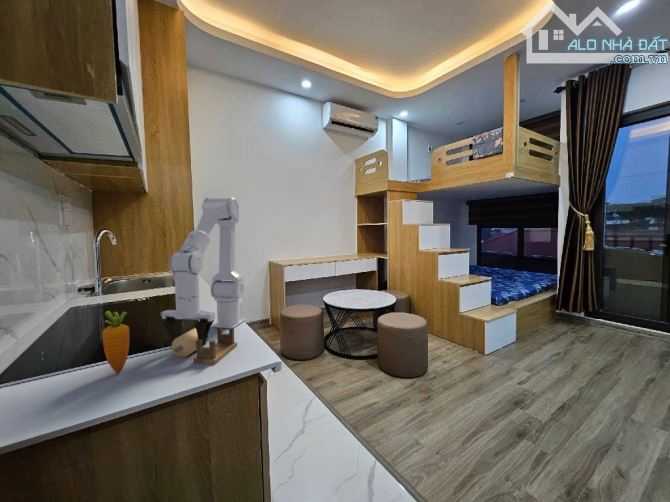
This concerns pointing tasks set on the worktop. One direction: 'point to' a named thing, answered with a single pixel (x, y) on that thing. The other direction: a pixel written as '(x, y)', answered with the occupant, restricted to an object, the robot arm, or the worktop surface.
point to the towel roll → (185, 343)
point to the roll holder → (215, 347)
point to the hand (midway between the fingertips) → (189, 344)
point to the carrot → (116, 341)
